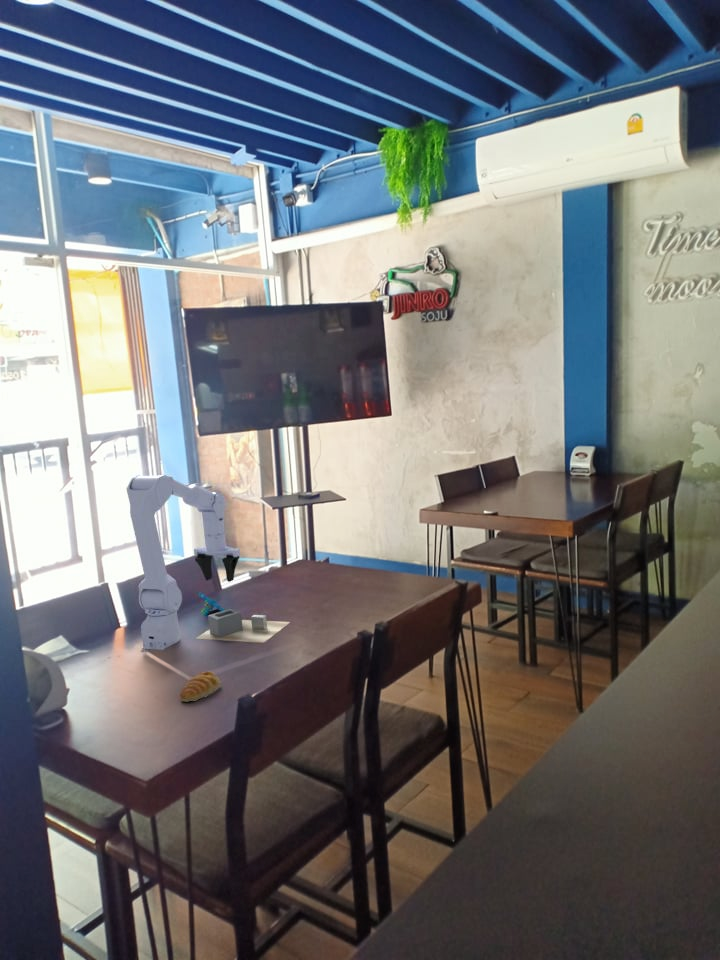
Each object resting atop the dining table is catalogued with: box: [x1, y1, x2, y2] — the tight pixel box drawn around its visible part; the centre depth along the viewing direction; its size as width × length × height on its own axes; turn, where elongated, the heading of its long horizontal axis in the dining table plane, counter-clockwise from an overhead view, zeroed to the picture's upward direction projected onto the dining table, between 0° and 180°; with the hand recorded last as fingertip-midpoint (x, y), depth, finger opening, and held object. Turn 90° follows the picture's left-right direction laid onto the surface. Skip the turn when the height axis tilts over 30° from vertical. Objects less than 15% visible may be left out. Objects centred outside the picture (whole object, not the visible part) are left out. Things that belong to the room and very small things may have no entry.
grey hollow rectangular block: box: [207, 608, 243, 638], centre depth 193 cm, size 5×7×5 cm
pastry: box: [179, 670, 222, 703], centre depth 158 cm, size 9×7×4 cm
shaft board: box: [195, 619, 291, 644], centre depth 194 cm, size 15×20×1 cm
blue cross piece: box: [198, 592, 225, 616], centre depth 211 cm, size 11×6×10 cm
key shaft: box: [250, 614, 268, 630], centre depth 194 cm, size 2×4×4 cm, turn 69°
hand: (219, 580), depth 212 cm, fingers open, 7 cm apart
